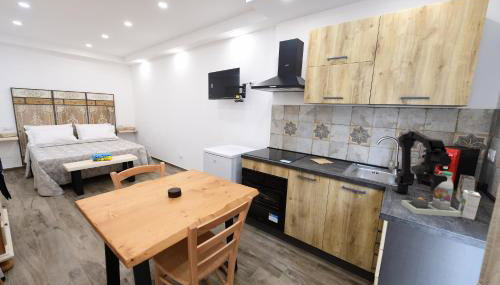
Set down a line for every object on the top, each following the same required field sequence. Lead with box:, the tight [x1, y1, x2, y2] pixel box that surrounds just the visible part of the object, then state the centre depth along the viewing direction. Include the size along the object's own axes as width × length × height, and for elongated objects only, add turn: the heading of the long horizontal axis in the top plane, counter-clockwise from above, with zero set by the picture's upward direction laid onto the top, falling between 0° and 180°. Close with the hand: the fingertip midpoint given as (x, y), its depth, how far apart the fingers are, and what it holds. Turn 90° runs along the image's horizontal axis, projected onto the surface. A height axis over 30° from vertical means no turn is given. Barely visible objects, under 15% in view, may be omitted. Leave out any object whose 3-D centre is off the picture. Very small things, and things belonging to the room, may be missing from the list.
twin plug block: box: [432, 198, 452, 211], centre depth 112 cm, size 5×5×7 cm
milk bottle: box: [432, 170, 454, 203], centre depth 123 cm, size 8×8×20 cm
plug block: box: [411, 196, 430, 209], centre depth 113 cm, size 5×5×7 cm
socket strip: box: [400, 199, 461, 218], centre depth 113 cm, size 11×23×4 cm, turn 87°
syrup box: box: [457, 190, 482, 221], centre depth 107 cm, size 6×6×14 cm
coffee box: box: [455, 174, 479, 203], centre depth 129 cm, size 9×6×16 cm
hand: (424, 187), depth 117 cm, fingers open, 9 cm apart
